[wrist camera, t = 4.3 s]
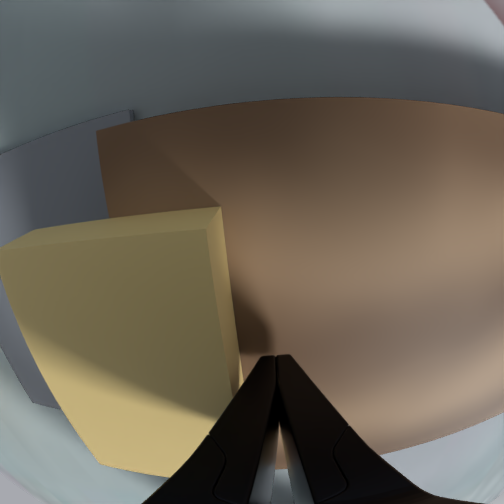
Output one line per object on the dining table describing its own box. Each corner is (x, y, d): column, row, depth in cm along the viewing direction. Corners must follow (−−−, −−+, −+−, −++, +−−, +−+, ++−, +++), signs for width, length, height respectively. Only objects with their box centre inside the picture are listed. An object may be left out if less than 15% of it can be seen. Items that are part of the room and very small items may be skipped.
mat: (200, 421, 16) (199, 426, 15) (34, 398, 16) (32, 402, 16) (132, 110, 10) (128, 109, 10) (-46, 179, 11) (-50, 180, 11)
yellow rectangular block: (252, 441, 10) (250, 482, 9) (115, 430, 11) (100, 464, 9) (220, 206, 7) (206, 228, 6) (34, 229, 8) (-7, 251, 6)
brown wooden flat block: (512, 356, 14) (542, 391, 10) (205, 410, 15) (195, 469, 12) (550, 136, 9) (602, 145, 6) (147, 132, 11) (95, 131, 7)
